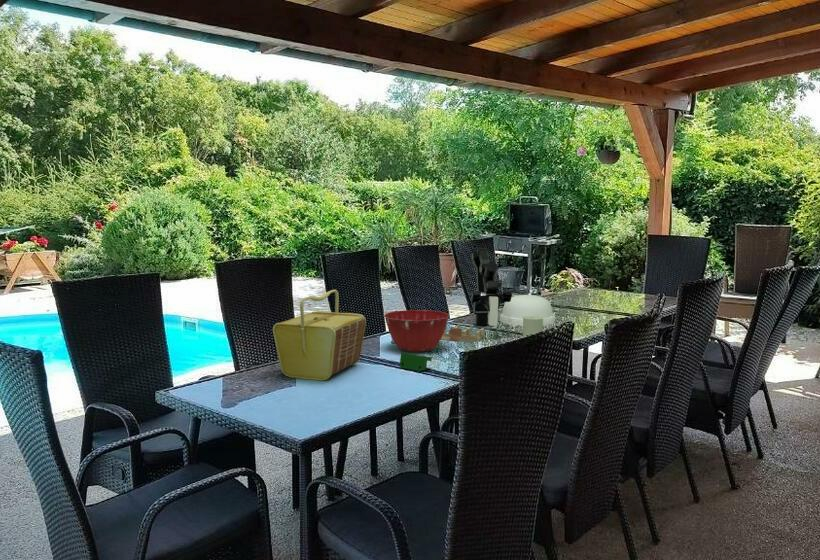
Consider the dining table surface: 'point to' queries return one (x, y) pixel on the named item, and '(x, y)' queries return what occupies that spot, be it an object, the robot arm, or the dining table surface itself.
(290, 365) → the picnic basket
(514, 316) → the dome cover
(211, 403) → the dining table surface
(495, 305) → the tall off-white box
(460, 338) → the rack
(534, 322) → the can
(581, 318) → the dining table surface
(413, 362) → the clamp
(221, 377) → the dining table surface
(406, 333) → the mixing bowl
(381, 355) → the dining table surface
